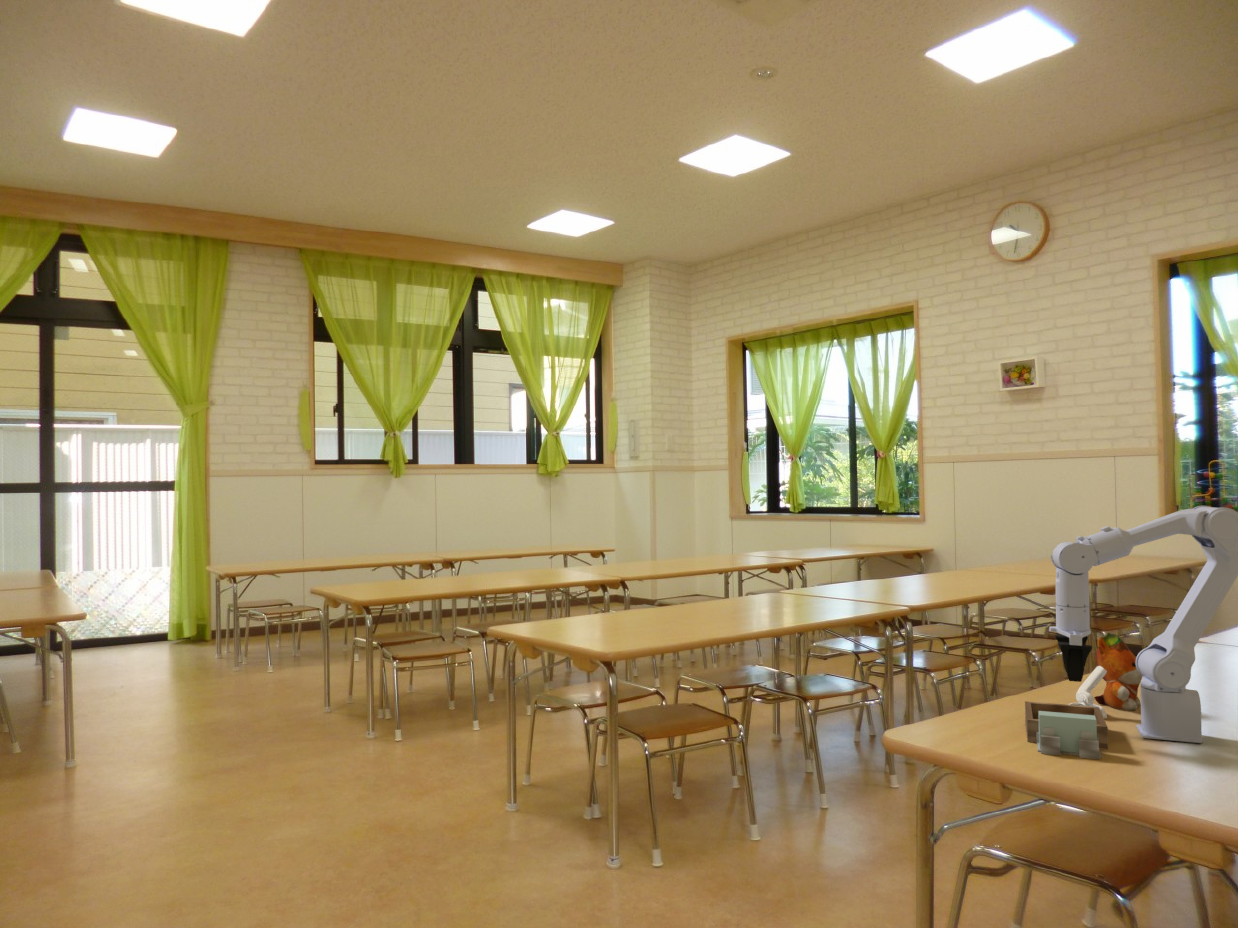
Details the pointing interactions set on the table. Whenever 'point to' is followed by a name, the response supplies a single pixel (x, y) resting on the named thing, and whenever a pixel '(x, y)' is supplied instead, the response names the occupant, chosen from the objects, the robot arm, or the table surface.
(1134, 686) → the toy
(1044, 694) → the table surface
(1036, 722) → the carcass
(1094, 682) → the white vr controller
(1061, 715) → the door
